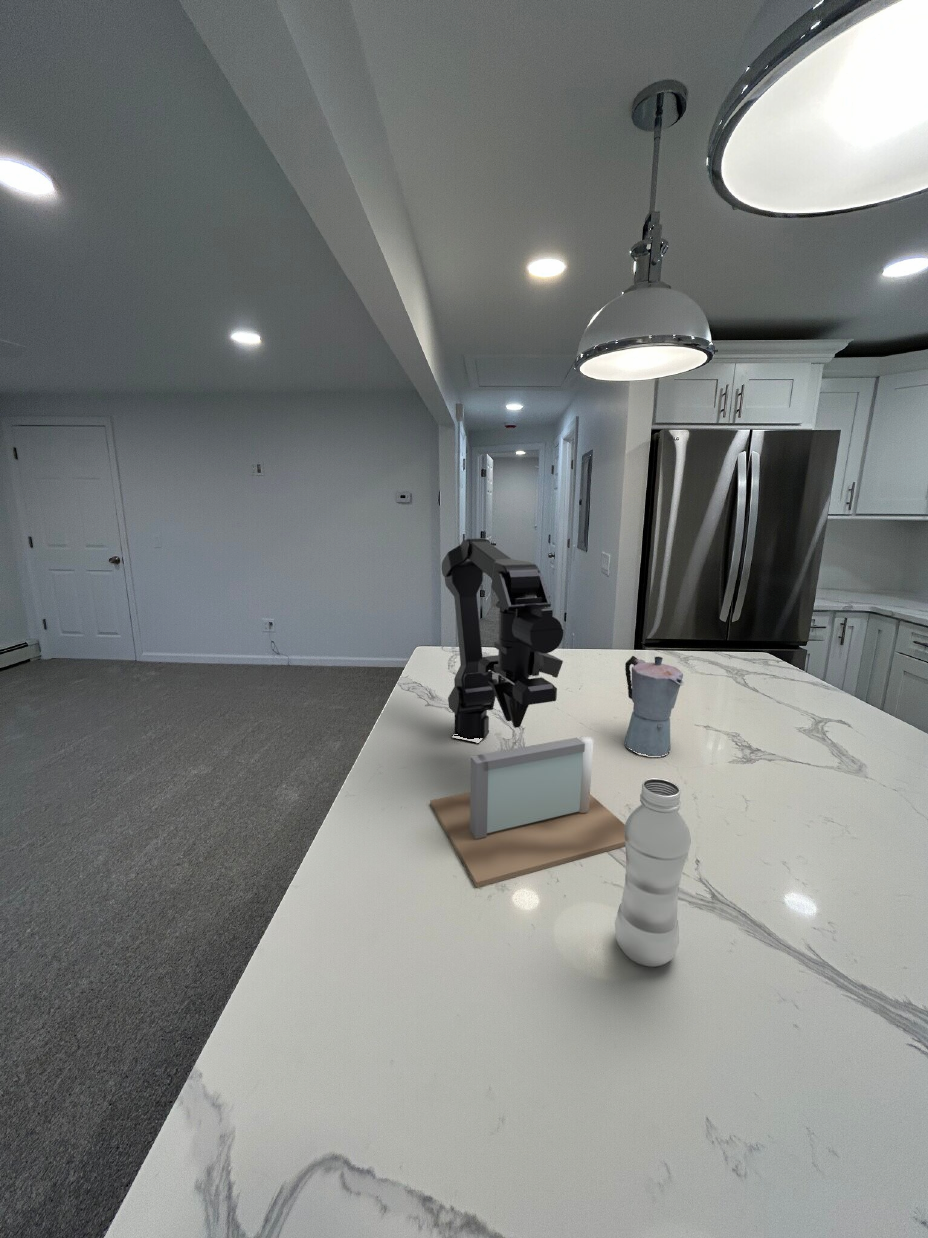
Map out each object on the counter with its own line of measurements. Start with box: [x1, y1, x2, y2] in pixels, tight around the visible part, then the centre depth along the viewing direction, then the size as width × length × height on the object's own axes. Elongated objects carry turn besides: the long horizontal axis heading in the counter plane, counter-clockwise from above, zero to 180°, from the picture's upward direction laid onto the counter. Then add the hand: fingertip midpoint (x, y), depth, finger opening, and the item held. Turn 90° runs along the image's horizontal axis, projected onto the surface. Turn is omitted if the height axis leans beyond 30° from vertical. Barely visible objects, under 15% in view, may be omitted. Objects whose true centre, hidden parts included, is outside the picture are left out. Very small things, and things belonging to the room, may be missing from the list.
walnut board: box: [429, 791, 625, 888], centre depth 78 cm, size 20×26×1 cm
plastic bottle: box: [614, 777, 692, 968], centre depth 54 cm, size 6×7×20 cm
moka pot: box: [624, 655, 685, 756], centre depth 102 cm, size 10×15×20 cm, turn 28°
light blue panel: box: [469, 735, 595, 839], centre depth 76 cm, size 20×2×12 cm, turn 111°
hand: (513, 723), depth 88 cm, fingers open, 3 cm apart
